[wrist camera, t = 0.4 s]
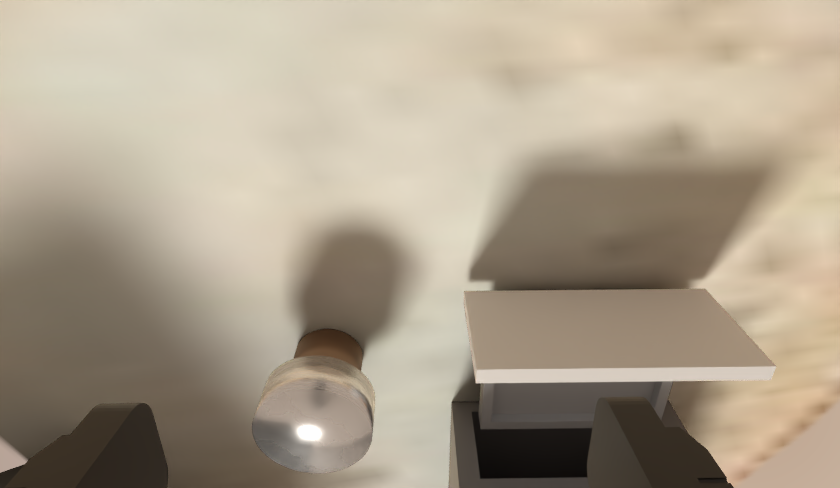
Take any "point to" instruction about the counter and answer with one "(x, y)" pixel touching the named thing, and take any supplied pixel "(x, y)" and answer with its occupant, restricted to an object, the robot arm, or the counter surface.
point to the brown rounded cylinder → (331, 346)
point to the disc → (315, 415)
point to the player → (520, 453)
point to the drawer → (597, 351)
